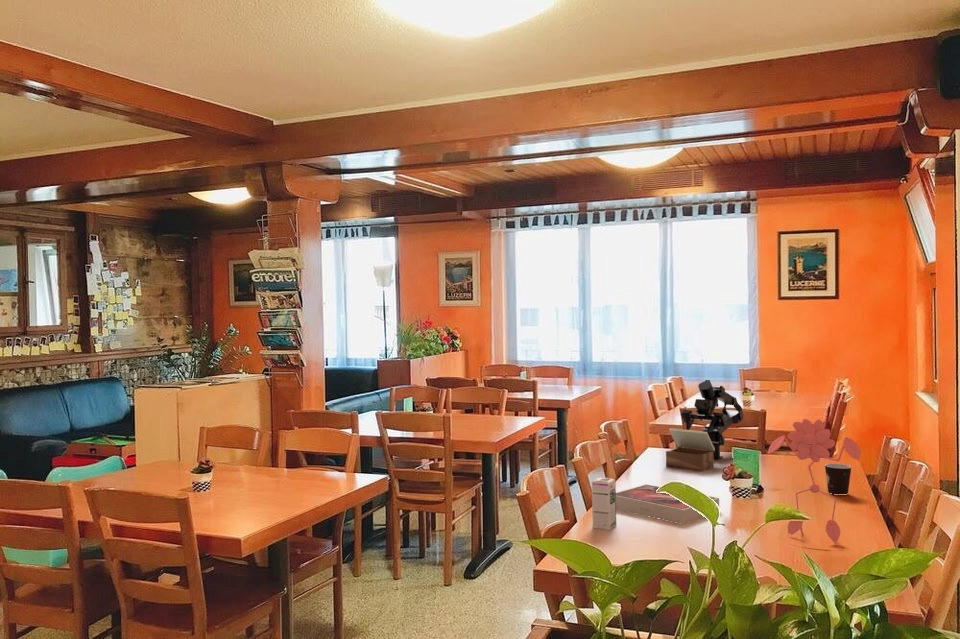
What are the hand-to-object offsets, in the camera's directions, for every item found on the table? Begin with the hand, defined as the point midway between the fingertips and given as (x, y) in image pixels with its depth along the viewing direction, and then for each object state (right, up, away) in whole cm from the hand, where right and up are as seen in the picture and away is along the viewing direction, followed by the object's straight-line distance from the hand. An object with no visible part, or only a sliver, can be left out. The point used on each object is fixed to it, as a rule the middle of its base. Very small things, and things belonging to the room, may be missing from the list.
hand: (697, 431), depth 325 cm
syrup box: (-56, -15, -96) cm, 112 cm away
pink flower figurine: (0, -15, -111) cm, 112 cm away
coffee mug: (+34, -14, -56) cm, 67 cm away
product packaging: (-33, -15, -76) cm, 84 cm away
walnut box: (-5, -14, -6) cm, 16 cm away
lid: (-4, -3, -4) cm, 6 cm away
